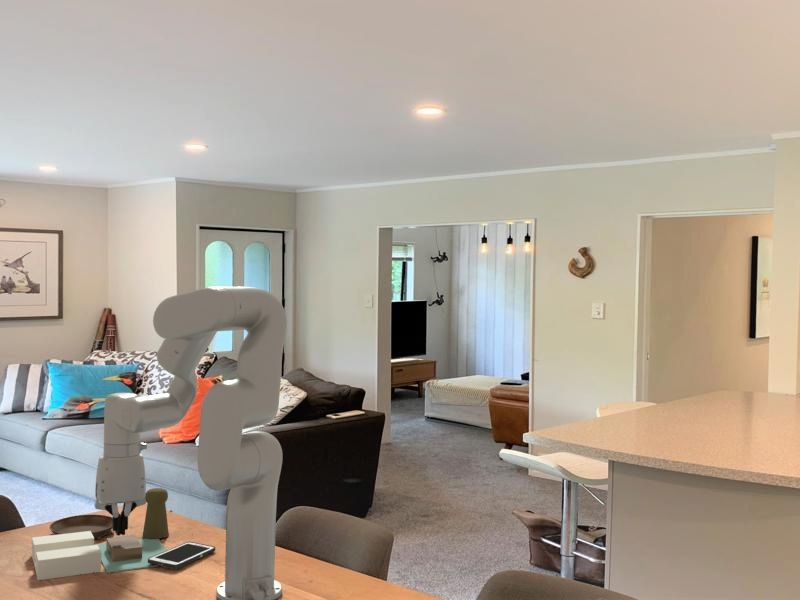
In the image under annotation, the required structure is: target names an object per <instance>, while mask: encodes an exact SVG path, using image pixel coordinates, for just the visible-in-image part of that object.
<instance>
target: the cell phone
mask: <svg viewBox="0 0 800 600" xmlns="http://www.w3.org/2000/svg"><path fill="white" fill-rule="evenodd" d="M166 550H167V551H165V552H162V553H160V554H157V555H155V556H153V557H150V558H149V559H148V563H149V564H153V565H158V566H157V567H163V568H168V569H175V570H176V569H179V568H182V567H184V566H185V565H188V564H190V563H193V562H194V561H196V560H199V559H201V558H204V557H205V556H207V555H210V554H212V553H214V552H216V546H214V545H209V544H204V543H199V542H193V541H186V542H184V543H181V544H179V545H176V546H175V547H172V548H169V549H166Z"/></svg>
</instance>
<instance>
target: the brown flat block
mask: <svg viewBox="0 0 800 600" xmlns="http://www.w3.org/2000/svg"><path fill="white" fill-rule="evenodd" d="M137 539H138V538H137V537H136V535H135V534H133V535H122V536H117V537H116V536H115V537H107V538H106V542H105V543H106V550H107V552H108V553H109V555H110V557H111V559H112V561H113V562H118V561H125V560H133V559H140V558H142V545H141V544H140V542H139V541H138V540H137Z"/></svg>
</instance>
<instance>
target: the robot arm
mask: <svg viewBox="0 0 800 600" xmlns="http://www.w3.org/2000/svg"><path fill="white" fill-rule="evenodd" d="M152 318H153V319H152V323H153V329H154V331H155V333H156V334H157V335H158V336H159V337H160V338H162V339H163V342H162V343H161V345H160V346H159V349H158V350H157V352H156V360H157V362H158V364H159V366H160V367H161V368H163V370H165V371H166V372H168V374H171V375H172V376H173V379H172V381H171V383H170V385H169V386H168V388H167V390H166V391H165V392H164V393H157V394H149V395H145V396H140V395H139V394H137V393H133V392H115V393H110V394H108V395H107V396H106V397H105V399H104V411H103V412H104V416H103V419H104V420H103V455H100V456H99V458H98V463H97V468H96V475H95V476H96V477H95V478H96V479H95V489H94V495H95V496H94V497H95V501H94V508H95V509H96V510H99V511H100V510H101V511H106V512H108V513H109V514H110V515H111V517H112V518H113V526H112V531H113V532H115V534H116V536H117V537H120V535H122V536H126V530H128V529H129V516H130V514H131V513H133V511H134V510H135V509H136V508H137V507H141V506H144V505H147V502H146V498H145V495H146V492H147V484H146V482H147V481H146V479H147V478H146V469H145V468H146V467H145V460H144V455H143V454H142V453H141V452H142V451H144V450H147V448H148V446H147V443H146V442H145V443H144V442H141V434H142V433H147V432H152V431H156V430H161V429H168V428H171V427H172V428H173V427H175V426H176V425H178V424H180V423H181V421H183V419H184V418H185V417H186V415H187V414H188V412H189V411H190V409H191V407H192V406H193V404H194V402H195V400H196V397H197V394H198V378H197V374H196V370H197V368H198V366H199V363H201V361H202V358H203V357H204V355H205V353H206V351H207V350H208V348H209V347H210V345H211V343H212V342H213V339H214V338H215V336H216V334H217V332H224V331H225V332H229V331H230V332H231V331H246V332H247V334H246V336H245V338H244V339H243V341H242V342H241V346H240V348H239V351H238V355H237V365H236V374H235V378H234V379H230V380H229V379H227V380H223V381H220V382H216V383H215V384H214V385H212V386H211V387H210V388H209V389H208V390H207V392H206V393H205V395H204V397H203V399H202V403H201V408H200V417H199V418H200V419H199V433H198V448H197V469H198V474H199V475H200V476H199V478H200V479H201V481H202V483H203V484H204V485H205V486H206V487H207V488H208V489H211V490H214V491H217V492H218V491H227V490H229V493H228V496H227V503H226V520H225V521H226V522H225V560H224V561H225V567H224V568H225V569H224V581H223V582H221V583H220V584H219V585H218V586H217V587H216V590H215V593H216V597H217V599H219V600H277V599H278V598H279V597H280V596H281V595H282V594H283V592H282V591H283V585H282V584H281V583H280V582H279V581H278V580H276V579H275V564H276V563H275V560H276V556H275V555H276V525H277V524H276V521H277V520H276V518H277V499H278V488H279V486H278V485H279V481H280V476H281V471H282V466H283V449H282V445H281V444H280V442H279V440H278V438H277V437H275V436H274V435H273V434H271V433H270V432H266V431H261V430H255V431H249V432H244V433H243V430H246V429H251V428H252V429H253V428H255V427H259V426H260V427H261V426H264V425H267V424H268V423H271V422H272V421H273V420H274V419H275V418H276V416H277V414H278V411H279V404H280V396H281V394H280V393H281V392H280V391H281V380H282V365H283V364H282V362H283V353H284V346H285V341H286V335H287V325H288V324H287V315H286V311H285V308H284V307H283V304H282V303H281V301H280V300H279V299H278V298H277V297H276V295H274V294H273V293H272V292H270V291H268V290H267V289H266V290H265V289H263V288H259V287H254V286H253V287H252V286H208V287H204V288H203V287H202V288H198V289H195V290H191V291H188V292H184V293H180V294H176V295H172V296H170V297H167V298H165V299H163V300H162V301H160V303H159V304H158V305H157V307H156V308H155V311H154V313H153V317H152ZM118 504H122V510H121V512H119V506H118Z"/></svg>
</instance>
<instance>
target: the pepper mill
mask: <svg viewBox="0 0 800 600" xmlns="http://www.w3.org/2000/svg"><path fill="white" fill-rule="evenodd" d="M145 498H146V510H145V517H144V518H145V519H144V524H143V531H142V539H145V538H148V539H164V538H167V537H168V536H169V535H170V534H169V533H170V532H169V525H168V515H167V508H166V507H167V506H166V505H167V504H166V502H167V501H168V498H169V491H167V489H165V488H162V487H154V488H150V489H148V490H146V495H145Z"/></svg>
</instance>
